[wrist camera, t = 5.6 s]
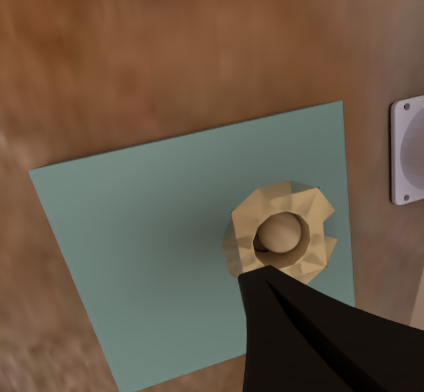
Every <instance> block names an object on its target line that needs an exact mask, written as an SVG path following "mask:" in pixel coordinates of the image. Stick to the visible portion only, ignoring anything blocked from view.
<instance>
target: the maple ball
mask: <svg viewBox="0 0 424 392" xmlns="http://www.w3.org/2000/svg"><path fill="white" fill-rule="evenodd" d="M257 233H258V237H259V240H260V242H261V243H262V244H263V246H264V247H266V248H267V249H269V250H271V251H273V252H279V253H281V252H287V251H289V250H291V249H293V248H294V247H295V246H296V245H297V244H298V242H299V240H300V237H301V226H300V223H299V221H298V220H297V218H296V217H295V216H294V215H293V214H291V213H290V212H287V211H285V212H281V213H278V214H274V215H270V216H269V217H268V218H267V219H266V220H265V221H264V222H263V223H262V224H261V225H260V226H259V227H258V229H257Z"/></svg>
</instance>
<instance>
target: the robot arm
mask: <svg viewBox="0 0 424 392" xmlns="http://www.w3.org/2000/svg"><path fill="white" fill-rule="evenodd" d="M404 105H405V109H404ZM391 165H392V202H393V203H394V204H396V205H403V204H406V203H409V202H413V201H416V200H420V199H423V198H424V95H422V96H418V97H413V98H409V99H405V100H400V101H396V102H394V103H393V105H392V107H391ZM404 196H405V198H404ZM237 279H238V283H239V288H240V292H241V297H242V301H243V306H244V310H245V315H246V329H247V343H246V363H245V373H244V383H243V391H242V392H424V330H420V329H417V328H413V327H410V326H407V325H404V324H400V323H397V322H394V321H391V320H388V319H385V318H382V317H379V316H376V315H374V314H371V313H368V312H366V311H363V310H360V309H358V308H355V307H353V306H350V305H348V304H345V303H343V302H341V301H339V300H336V299H334V298H332V297H330V296H328V295H325V294H323V293H321V292H319V291H317V290H315V289H313V288H311V287H309V286H308V285H306V284H304V283H302V282H300V281H298V280H296V279H295V278H293V277H291V276H289V275H287V274H286V273H284V272H282V271H281V270H279V269H277V268H275V267H274V266H272V265H267V266H264V267H261V268H258V269H254V270H251V271H248V272H245V273H242V274H239V276H238V277H237Z"/></svg>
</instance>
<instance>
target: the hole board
mask: <svg viewBox="0 0 424 392" xmlns="http://www.w3.org/2000/svg"><path fill="white" fill-rule="evenodd" d="M28 172H29V175H30V177H31V180H32V182H33V184H34V187H35V189H36V192H37V194H38V196H39V199H40V201H41V204H42V206H43V208H44V211H45V213H46V216H47V218H48V220H49V223H50V225H51V228H52V230H53V232H54V235H55V237H56V240H57V242H58V244H59V247H60V249H61V252H62V254H63V256H64V259H65V261H66V264H67V266H68V268H69V271H70V273H71V276H72V278H73V281H74V283H75V285H76V288H77V290H78V293H79V295H80V297H81V300H82V302H83V305H84V307H85V309H86V312H87V314H88V317H89V319H90V321H91V324H92V326H93V329H94V331H95V333H96V336H97V338H98V341H99V343H100V345H101V348H102V350H103V353H104V355H105V357H106V360H107V362H108V365H109V367H110V369H111V372H112V374H113V377H114V379H115V381H116V384H117V386H118V389H119V391H120V392H135V391H138V390H141V389H144V388H146V387H149V386H152V385H155V384H158V383H161V382H164V381H167V380H170V379H173V378H176V377H178V376H181V375H184V374H187V373H190V372H193V371H196V370H199V369H202V368H205V367H207V366H210V365H213V364H216V363H219V362H222V361H225V360H228V359H231V358H234V357H237V356H239V355H242V354H245V353H246V343H247V329H246V315H245V310H244V306H243V301H242V297H241V292H240V288H239V283H238V279H237V277H238V276H239V274H242V273H245V272H248V271H251V270H254V269H258V268H261V267H264V266H267V265H272V266H274V267H275V268H277V269H279V270H281V271H282V272H284V273H286V274H287V275H289V276H291V277H293V278H295V279H296V280H298V281H300V282H302V283H304V284H306V285H308V286H309V287H311V288H313V289H315V290H317V291H319V292H321V293H323V294H325V295H328V296H330V297H332V298H334V299H336V300H339V301H341V302H343V303H345V304H348V305H350V306H353V307H355V301H354V284H353V268H352V252H351V235H350V219H349V203H348V187H347V170H346V154H345V138H344V121H343V105H342V100H341V101H335V102H328V103H322V104H316V105H312V106H307V107H303V108H298V109H294V110H289V111H285V112H280V113H276V114H271V115H267V116H262V117H258V118H253V119H249V120H244V121H240V122H235V123H231V124H226V125H222V126H218V127H213V128H209V129H204V130H200V131H195V132H191V133H186V134H182V135H177V136H173V137H168V138H164V139H159V140H155V141H150V142H146V143H141V144H137V145H132V146H128V147H123V148H119V149H114V150H110V151H105V152H101V153H96V154H92V155H87V156H83V157H78V158H74V159H69V160H65V161H60V162H56V163H51V164H47V165H44V166H41V167H38V168H35V169H31V170H28ZM285 211H287V212H290V213H291V214H293V215H294V216H295V217H296V218H297V220H298V221H299V223H300V226H301V237H300V240H299V242H298V244H297V245H296V246H295V247H294V248H293V249H291V250H289V251H287V252H281V253H279V252H273V251H269V252H266V253H264V252H259V251H255V250H254V247H253V240H254V237H255V234H256V232H257V229H258V227H259V226H260V225H261V224H262V223H263V222H264V221H265V220H266V219H267V218H268V217H269V216H270V215H274V214H278V213H281V212H285Z"/></svg>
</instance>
